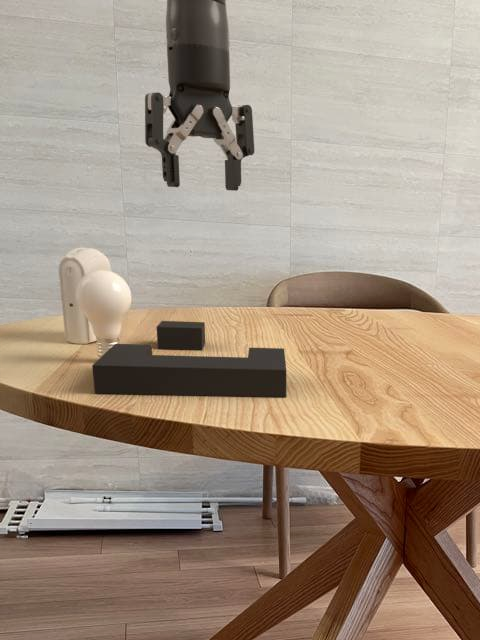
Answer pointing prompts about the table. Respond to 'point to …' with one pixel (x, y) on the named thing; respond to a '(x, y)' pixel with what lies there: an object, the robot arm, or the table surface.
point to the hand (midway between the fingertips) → (203, 188)
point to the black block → (181, 335)
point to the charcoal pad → (190, 373)
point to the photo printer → (69, 276)
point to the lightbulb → (104, 305)
